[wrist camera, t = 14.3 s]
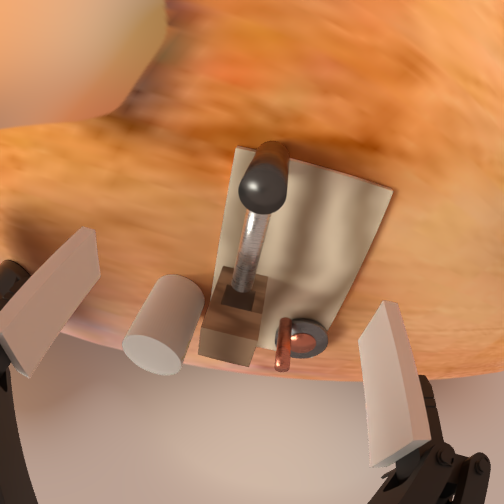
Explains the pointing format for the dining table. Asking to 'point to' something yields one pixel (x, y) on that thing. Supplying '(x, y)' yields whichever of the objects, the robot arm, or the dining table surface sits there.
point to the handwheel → (298, 340)
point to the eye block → (291, 257)
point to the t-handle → (259, 207)
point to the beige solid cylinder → (165, 325)
